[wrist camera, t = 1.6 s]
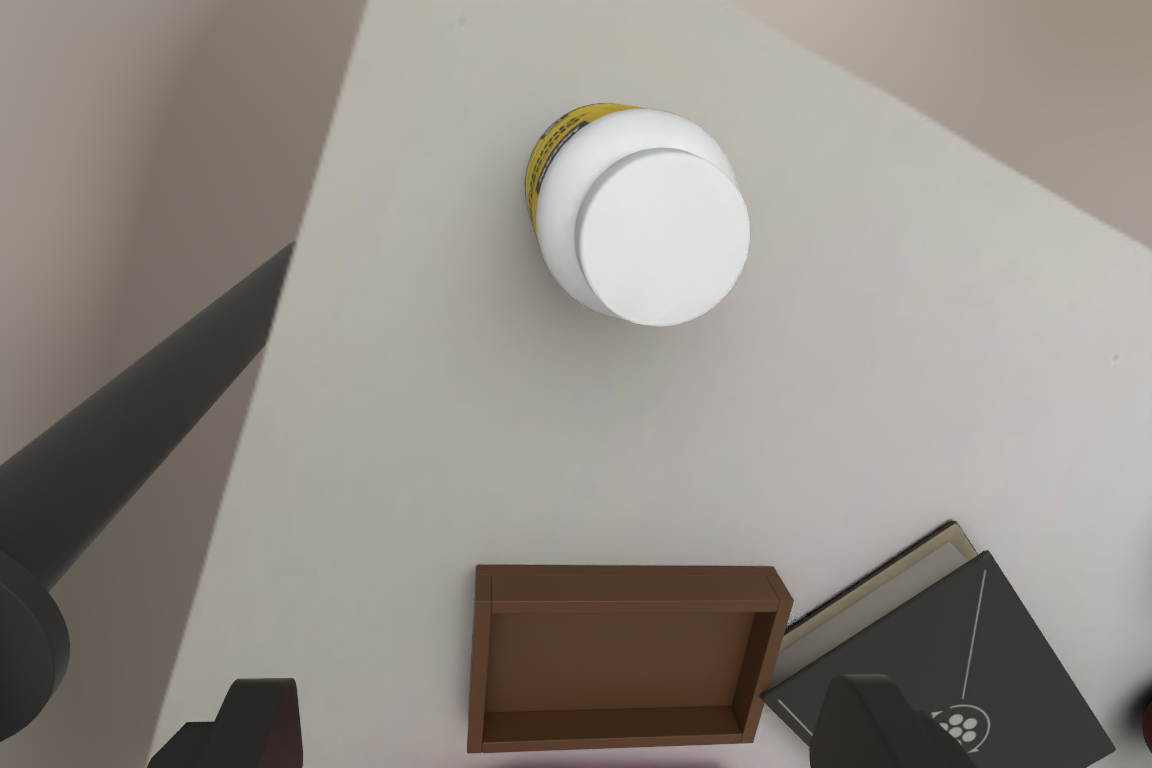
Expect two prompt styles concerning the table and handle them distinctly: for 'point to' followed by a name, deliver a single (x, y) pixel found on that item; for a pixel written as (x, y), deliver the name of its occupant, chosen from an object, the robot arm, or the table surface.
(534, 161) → the pill bottle
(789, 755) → the table surface
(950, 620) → the book
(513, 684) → the serving tray
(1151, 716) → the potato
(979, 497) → the table surface
